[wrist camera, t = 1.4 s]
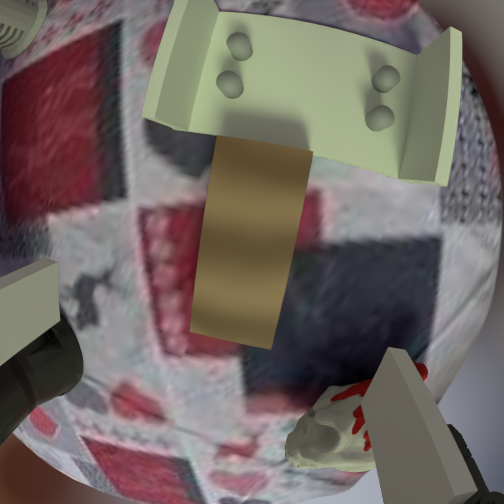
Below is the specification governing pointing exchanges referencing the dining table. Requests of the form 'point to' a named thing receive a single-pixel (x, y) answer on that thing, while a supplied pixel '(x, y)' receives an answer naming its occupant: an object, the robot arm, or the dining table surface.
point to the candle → (335, 431)
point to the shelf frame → (309, 90)
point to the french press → (20, 24)
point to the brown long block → (248, 239)
